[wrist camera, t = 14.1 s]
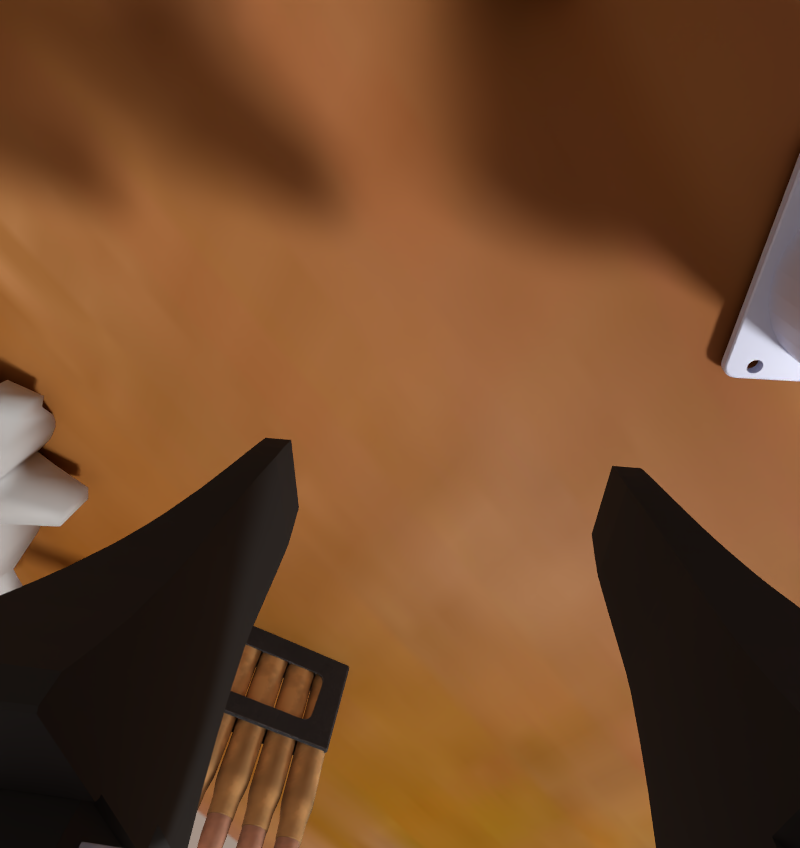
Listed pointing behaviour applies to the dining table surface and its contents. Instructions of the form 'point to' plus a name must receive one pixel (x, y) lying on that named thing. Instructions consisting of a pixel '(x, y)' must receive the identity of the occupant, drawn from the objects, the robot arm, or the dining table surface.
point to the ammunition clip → (272, 740)
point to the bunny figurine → (28, 478)
